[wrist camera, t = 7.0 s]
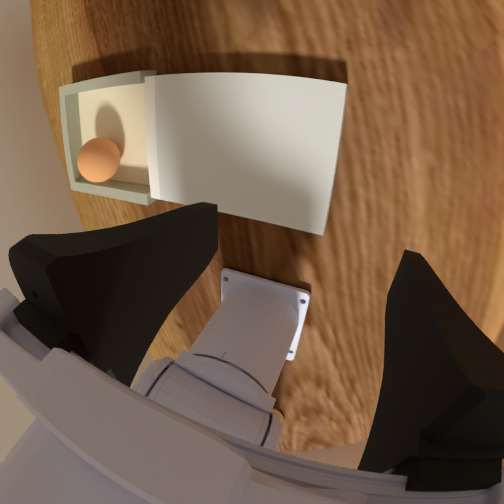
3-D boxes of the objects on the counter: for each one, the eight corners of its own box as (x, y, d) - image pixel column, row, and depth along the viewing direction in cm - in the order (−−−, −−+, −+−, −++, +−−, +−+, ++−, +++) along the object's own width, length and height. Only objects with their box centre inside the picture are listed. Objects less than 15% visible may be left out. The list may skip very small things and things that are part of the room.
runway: (326, 225, 21) (322, 235, 20) (161, 191, 24) (151, 197, 23) (348, 84, 15) (346, 83, 14) (157, 75, 19) (144, 76, 18)
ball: (122, 186, 25) (83, 195, 22) (106, 161, 25) (69, 168, 23) (132, 150, 22) (88, 157, 19) (114, 127, 23) (75, 131, 20)
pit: (162, 196, 25) (147, 205, 23) (84, 182, 28) (71, 189, 26) (157, 69, 19) (140, 70, 17) (74, 83, 22) (59, 87, 20)
